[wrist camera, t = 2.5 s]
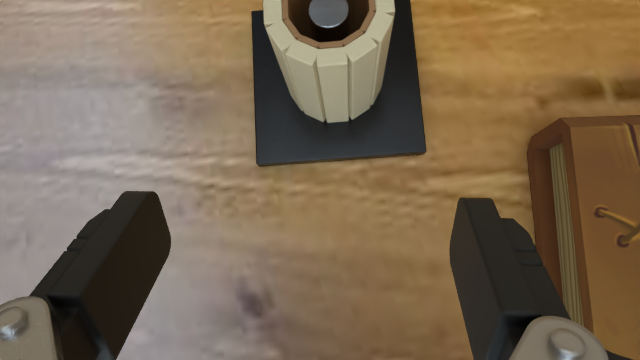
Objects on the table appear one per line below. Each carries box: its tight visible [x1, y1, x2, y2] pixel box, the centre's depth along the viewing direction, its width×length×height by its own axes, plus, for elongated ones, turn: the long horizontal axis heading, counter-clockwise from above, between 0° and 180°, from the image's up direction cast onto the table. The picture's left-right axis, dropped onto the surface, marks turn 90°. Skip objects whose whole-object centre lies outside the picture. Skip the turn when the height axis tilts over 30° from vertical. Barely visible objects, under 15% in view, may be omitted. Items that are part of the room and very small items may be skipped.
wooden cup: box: [263, 0, 395, 123], centre depth 24 cm, size 6×6×8 cm
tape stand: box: [252, 0, 426, 167], centre depth 25 cm, size 11×11×9 cm
